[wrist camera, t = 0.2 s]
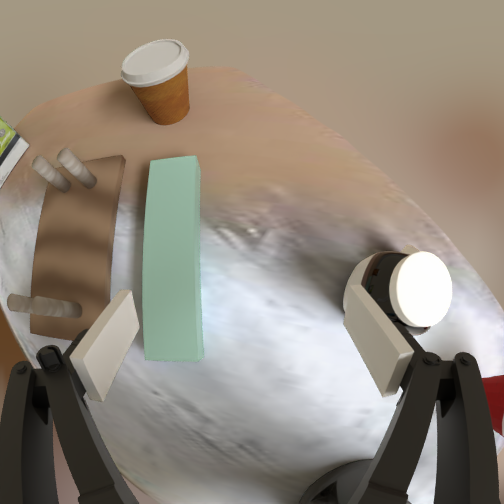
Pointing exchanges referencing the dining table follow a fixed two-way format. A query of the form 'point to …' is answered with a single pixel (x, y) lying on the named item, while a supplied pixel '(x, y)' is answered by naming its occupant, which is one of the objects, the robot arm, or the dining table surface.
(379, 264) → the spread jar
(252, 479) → the dining table surface
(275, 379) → the dining table surface
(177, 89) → the disposable coffee cup
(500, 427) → the plastic cup
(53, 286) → the peg rack
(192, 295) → the shelf board
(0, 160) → the tea box
